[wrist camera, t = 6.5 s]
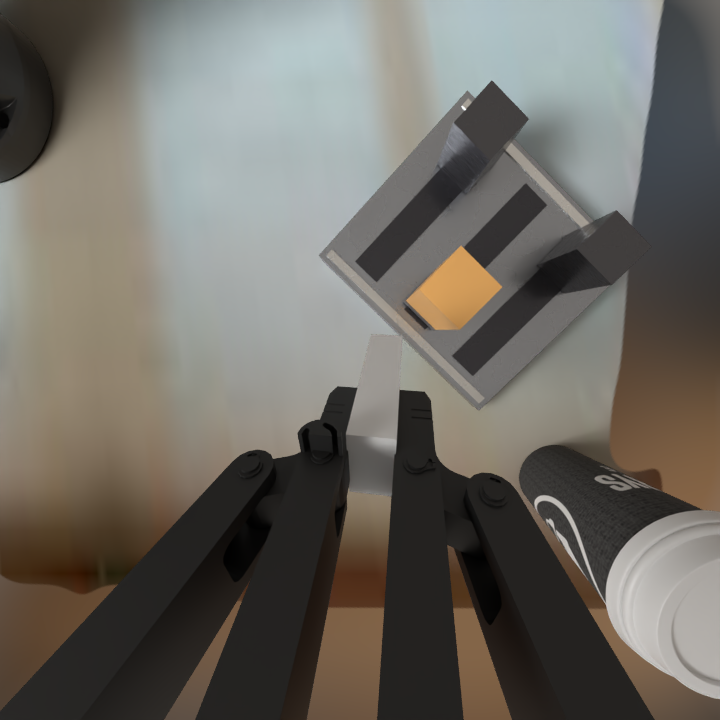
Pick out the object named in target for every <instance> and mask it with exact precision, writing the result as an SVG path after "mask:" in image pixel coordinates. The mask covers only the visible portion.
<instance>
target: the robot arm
mask: <svg viewBox="0 0 720 720" xmlns="http://www.w3.org/2000/svg"><path fill="white" fill-rule="evenodd" d="M52 112H53V101H52V91H51V85H50V81H49V77H48V74H47V71H46V68H45V66H44V64H43V61H42V59H41V57H40V56H39V54H38V52H37V51H36V49H35V47H34V46H33V45H32V43H31V42H30V41H29V40H28V38H27V37H26V36H25V35H24V34H23V33H22V32H21V31H20V30H19V29H18V28H16V27H15V26H14V25H13V24H12V23H11V22H9V21H8V20H7V19H6V18H5V17H4V16H2V15H1V14H0V182H2V181H5V180H8V179H10V178H12V177H14V176H16V175H18V174H19V173H21V172H22V171H23V170H25V169H26V168H27V167H28V166H29V165H30V164H31V163H32V162H33V161H34V160H35V158H36V157H37V156H38V154H39V153H40V151H41V150H42V148H43V146H44V144H45V142H46V139H47V137H48V133H49V130H50V126H51V121H52ZM401 353H402V336H398V335H377V334H371V337H370V341H369V345H368V349H367V353H366V357H365V360H364V364H363V368H362V372H361V376H360V380H359V384H358V388H352V387H337V388H335V389H334V390H333V391H332V392H331V393H330V395H329V397H328V400H327V403H326V405H325V408H324V412H323V413H322V416H321V419H320V420H315V421H312V422H309V423H307V424H306V425H304V426H303V427H302V428H301V429H300V430H299V432H298V439H299V444H300V449H301V452H300V453H298V454H295V455H292V456H288V457H282V458H276V459H273V458H272V456H271V454H269V453H268V452H266V451H262V450H253V451H248V452H246V453H244V454H242V455H240V456H239V457H237V458H236V459H235V460H234V461H233V462H232V463H231V464H230V465H229V466H228V467H227V468H226V469H225V470H224V471H223V472H222V474H221V475H220V476H219V477H218V478H217V479H216V480H215V481H214V482H213V483H212V484H211V485H210V486H209V487H208V489H207V490H206V491H205V492H204V493H203V494H202V495H201V496H200V497H199V498H198V499H197V500H196V501H195V503H194V504H193V505H192V506H191V507H190V508H189V509H188V510H187V511H186V512H185V513H184V514H183V515H182V516H181V518H180V519H179V520H178V521H177V522H176V523H175V524H174V525H173V526H172V527H171V528H170V529H169V530H168V532H167V533H166V534H165V535H164V536H163V537H162V538H161V539H160V540H159V541H158V542H157V543H156V544H155V545H154V547H153V548H152V549H151V550H150V551H149V552H148V553H147V554H146V555H145V556H144V557H143V558H142V559H141V561H140V562H139V563H138V564H137V565H136V566H135V567H134V568H133V569H132V570H131V571H130V572H129V573H128V574H127V576H126V577H125V578H124V579H123V580H122V581H121V582H120V583H119V584H118V585H117V586H116V587H115V588H114V590H113V591H112V592H111V593H110V594H109V595H108V596H107V597H106V598H105V599H104V600H103V601H102V602H101V603H100V605H99V606H98V607H97V608H96V609H95V610H94V611H93V612H92V613H91V614H90V615H89V616H88V618H87V619H86V620H85V621H84V622H83V623H82V624H81V625H80V626H79V627H78V628H77V629H76V630H75V631H74V632H73V634H72V635H71V636H70V637H69V638H68V639H67V640H66V641H65V642H64V643H63V644H62V645H61V646H60V648H59V649H58V650H57V651H56V652H55V653H54V654H53V655H52V656H51V657H50V658H49V659H48V660H47V662H46V663H45V664H44V665H43V666H42V667H41V668H40V669H39V670H38V671H37V672H36V673H35V674H34V675H33V677H32V678H31V679H30V680H29V681H28V682H27V683H26V684H25V685H24V686H23V687H22V688H21V690H20V691H19V692H18V693H17V694H16V695H15V696H14V697H13V698H12V699H11V700H10V701H9V702H8V703H7V705H5V707H4V708H3V709H2V710H1V711H0V720H164V719H165V717H166V715H167V714H168V712H169V711H170V709H171V707H172V706H173V704H174V703H175V701H176V699H177V698H178V696H179V694H180V693H181V691H182V690H183V688H184V686H185V685H186V683H187V681H188V680H189V678H190V676H191V675H192V673H193V672H194V670H195V668H196V667H197V665H198V664H199V662H200V660H201V659H202V657H203V656H204V654H205V652H206V651H207V649H208V647H209V646H210V644H211V643H212V641H213V639H214V638H215V636H216V634H217V633H218V631H219V629H220V628H221V626H222V625H223V623H224V621H225V620H226V618H227V617H228V615H229V613H230V612H231V610H232V608H233V607H234V605H235V604H236V602H237V600H238V599H239V597H240V596H241V594H242V592H243V591H244V589H245V587H246V586H247V584H248V583H249V581H250V583H249V585H248V588H247V590H246V593H245V595H244V598H243V600H242V603H241V605H240V608H239V611H238V613H237V616H236V618H235V621H234V623H233V626H232V628H231V631H230V634H229V636H228V638H227V641H226V644H225V646H224V648H223V651H222V654H221V656H220V659H219V661H218V664H217V666H216V669H215V671H214V674H213V676H212V679H211V682H210V684H209V686H208V689H207V691H206V694H205V696H204V699H203V702H202V704H201V707H200V709H199V712H198V714H197V717H196V720H307V715H308V709H309V703H310V699H311V693H312V688H313V683H314V678H315V672H316V667H317V662H318V657H319V651H320V647H321V641H322V636H323V631H324V625H325V620H326V615H327V610H328V605H329V599H330V594H331V589H332V584H333V578H334V573H335V568H336V563H337V557H338V552H339V547H340V542H341V537H342V531H343V526H344V521H345V516H346V510H347V492H348V488H349V490H350V491H351V492H359V493H368V494H376V495H384V496H392V499H391V514H390V530H389V545H388V561H387V576H386V592H385V607H384V623H383V638H382V655H381V669H380V685H379V701H378V716H377V720H464V719H463V710H462V698H461V688H460V677H459V667H458V656H457V645H456V634H455V625H454V613H453V603H452V592H451V581H450V571H449V560H448V550H447V545H449V546H451V547H453V548H454V550H455V553H456V556H457V559H458V561H459V564H460V567H461V570H462V573H463V576H464V579H465V582H466V585H467V588H468V591H469V594H470V597H471V600H472V603H473V606H474V609H475V612H476V615H477V618H478V620H479V623H480V626H481V629H482V632H483V635H484V638H485V641H486V644H487V647H488V650H489V653H490V656H491V659H492V662H493V664H494V668H495V671H496V673H497V677H498V679H499V682H500V685H501V688H502V691H503V694H504V697H505V700H506V703H507V706H508V709H509V712H510V715H511V718H512V720H654V718H653V716H652V715H651V713H650V711H649V710H648V708H647V706H646V705H645V703H644V702H643V700H642V698H641V697H640V695H639V693H638V692H637V690H636V688H635V686H634V685H633V683H632V682H631V680H630V678H629V677H628V675H627V674H626V672H625V670H624V668H623V667H622V665H621V664H620V662H619V660H618V658H617V657H616V655H615V654H614V652H613V650H612V648H611V647H610V645H609V643H608V642H607V640H606V638H605V637H604V635H603V633H602V632H601V630H600V629H599V627H598V625H597V623H596V622H595V620H594V618H593V617H592V615H591V613H590V612H589V610H588V608H587V607H586V605H585V603H584V602H583V600H582V598H581V597H580V595H579V593H578V592H577V590H576V588H575V587H574V585H573V583H572V582H571V580H570V578H569V577H568V575H567V574H566V572H565V570H564V569H563V567H562V565H561V564H560V562H559V560H558V559H557V557H556V555H555V554H554V552H553V550H552V549H551V547H550V545H549V544H548V542H547V540H546V539H545V537H544V535H543V534H542V532H541V530H540V529H539V527H538V525H537V524H536V522H535V520H534V519H533V517H532V515H531V514H530V512H529V510H528V509H527V507H526V505H525V504H524V502H523V500H522V499H521V497H520V495H519V494H518V492H517V491H516V490H515V488H514V487H513V486H512V485H511V484H510V483H509V482H508V481H506V480H505V479H503V478H502V477H500V476H497V475H494V474H492V473H479V474H476V475H474V476H472V477H471V478H467V477H465V476H462V475H460V474H457V473H455V472H453V471H451V470H449V469H448V468H446V467H445V466H444V465H443V464H442V463H441V462H440V461H439V459H438V457H437V456H436V452H435V443H434V432H433V420H432V409H431V400H430V399H429V397H428V396H427V394H426V393H425V392H420V391H406V390H400V372H401ZM250 579H251V580H250Z"/></svg>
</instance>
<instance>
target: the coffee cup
mask: <svg viewBox="0 0 720 720" xmlns="http://www.w3.org/2000/svg"><path fill="white" fill-rule="evenodd" d="M519 481H520V486H521V489H522V491H523V493H524V494H525V496H526V497H527V499H528V500H529V501H530V503H531V504H532V505H533V507H534V508H535V509H536V511H537V512H538V513H539V515H540V516H541V517H542V519H543V520H544V521H545V523H546V524H547V525H548V527H549V528H550V529H551V531H552V532H553V533H554V535H555V536H556V537H557V539H558V540H559V541H560V543H561V544H562V545H563V547H564V548H565V549H566V551H567V552H568V553H569V555H570V556H571V558H572V559H573V560H574V562H575V563H576V564H577V566H578V567H579V568H580V570H581V571H582V572H583V574H584V575H585V576H586V578H587V579H588V580H589V582H590V583H591V585H592V586H593V587H594V589H595V590H596V591H597V593H598V594H599V595H600V597H601V598H602V600H603V601H604V602H605V604H606V605H607V611H608V614H609V617H610V620H611V622H612V624H613V626H614V628H615V630H616V632H617V633H618V634H619V636H620V637H621V639H622V640H623V641H624V642H625V643H626V644H627V645H628V646H629V647H630V648H632V649H633V650H634V651H635V652H636V653H638V654H639V655H640V656H641V657H642V658H643V659H645V660H646V661H648V662H649V663H651V664H652V665H653V666H655V667H656V668H658V669H659V670H661V671H663V672H665V673H667V674H669V675H671V676H673V677H675V678H676V679H677V680H679V681H680V682H681V683H683V684H684V685H685V686H687V687H688V688H690V689H692V690H694V691H696V692H698V693H700V694H703V695H706V696H709V697H712V698H717V699H720V512H718V511H707V510H701V509H700V508H697V507H695V506H693V505H691V504H689V503H686V502H684V501H682V500H680V499H677V498H675V497H673V496H671V495H669V494H667V493H664V492H662V491H660V490H658V489H656V488H653V487H651V486H649V485H647V484H645V483H643V482H640V481H638V480H636V479H634V478H632V477H630V476H627V475H625V474H623V473H621V472H619V471H617V470H614V469H612V468H610V467H608V466H606V465H604V464H601V463H599V462H597V461H595V460H593V459H591V458H588V457H586V456H584V455H582V454H580V453H578V452H575V451H573V450H571V449H569V448H566V447H563V446H557V445H551V446H545V447H542V448H540V449H537V450H536V451H534V452H533V453H531V454H530V455H529V456H528V457H527V458H526V460H525V461H524V463H523V465H522V467H521V470H520V475H519Z"/></svg>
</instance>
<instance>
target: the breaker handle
mask: <svg viewBox="0 0 720 720" xmlns="http://www.w3.org/2000/svg"><path fill="white" fill-rule="evenodd" d="M501 288H502V286H501V285H500V284H499V283H498V282H497V281H496V280H495V279H494V278H493V277H492V276H491V275H490V274H489V273H488V272H487V271H486V270H485V269H484V268H483V267H482V266H481V265H480V264H479V263H478V262H477V261H476V260H475V259H474V258H473V257H472V256H471V255H470V254H469V253H468V252H467V251H466V250H465V249H464V248H463V247H462V246H460V247H459V248H458V249H457V250H456V251H455V252H454V253H452V254H451V255H450V256H449V257H448V258H447V259H446V260H445V261H444V262H443V263H442V264H441V265H440V266H439V267H438V268H437V269H435V270H434V271H433V272H432V273H431V274H430V275H429V276H428V277H427V278H426V279H425V280H424V281H423V282H422V283H421V284H420V285H419V286H418V287H417V288H416V289H415V290H414V291H413V292H412V293H411V294H410V296H409V297H408V298H407V299H406V300H405V301H404V303H405V304H406V305H407V306H408V307H409V308H410V309H411V310H412V311H413V312H414V313H415V314H416V315H417V316H418V317H419V318H420V319H421V320H422V321H423V322H424V323H425V324H426V325H427V326H428V327H429V328H430V329H431V330H432V331H436V330H460V329H461V328H462V327H463V326H464V325H465V324H466V323H467V322H468V321H469V320H470V319H471V318H472V317H473V316H474V315H475V314H476V313H477V312H478V311H479V310H480V309H481V308H482V307H483V306H484V305H485V304H486V303H487V302H488V301H489V300H490V299H491V298H492V297H493V296H494V295H495V294H496V293H497V292H498V291H499V290H500V289H501Z"/></svg>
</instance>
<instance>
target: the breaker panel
mask: <svg viewBox="0 0 720 720" xmlns="http://www.w3.org/2000/svg"><path fill="white" fill-rule="evenodd" d="M528 120H529V119H528V117H527V116H526V115H525V114H524V113H523V112H522V111H521V110H520V109H519V108H518V107H517V106H516V105H515V104H514V103H513V102H512V101H511V100H510V99H509V98H508V97H507V96H506V95H505V94H504V93H503V91H502V90H501V89H500V88H499V87H498V86H497V85H496V84H495V83H494V82H493V81H491V82H490V83H489V84H488V85H487V86H486V87H485V89H484V90H483V91H482V92H481V93H480V94H479V95H478V96H477V97H476V98H474V97H473V96H472V95H471V94H470V93H469V92H468V91H467V92H466V93H465V94H464V95H463V96H462V97H461V98H460V99H459V101H458V102H457V103H456V104H455V105H454V106H453V107H452V108H451V109H450V111H449V112H448V113H447V114H446V115H445V116H444V117H443V118H442V119H441V121H440V122H439V123H438V124H437V125H436V126H435V127H434V128H433V129H432V131H431V132H430V133H429V134H428V135H427V136H426V137H425V138H424V139H423V140H422V142H421V143H420V144H419V145H418V146H417V147H416V148H415V149H414V150H413V152H412V153H411V154H410V155H409V156H408V157H407V158H406V159H405V160H404V162H403V163H402V164H401V165H400V166H399V167H398V168H397V169H396V170H395V172H394V173H393V174H392V175H391V176H390V177H389V178H388V179H387V180H386V182H385V183H384V184H383V185H382V186H381V187H380V188H379V189H378V190H377V192H376V193H375V194H374V195H373V196H372V197H371V198H370V199H369V200H368V202H367V203H366V204H365V205H364V206H363V207H362V208H361V209H360V210H359V211H358V213H357V214H356V215H355V216H354V217H353V218H352V219H351V220H350V221H349V223H348V224H347V225H346V226H345V227H344V228H343V229H342V230H341V231H340V233H339V234H338V235H337V236H336V237H335V238H334V239H333V240H332V241H331V243H330V244H329V245H328V246H327V247H326V248H325V249H324V250H323V251H322V253H321V254H320V255H319V256H320V258H321V259H322V261H323V262H324V263H326V264H327V265H328V266H329V267H330V268H331V269H332V270H333V271H334V272H335V273H336V274H337V275H338V276H339V277H340V278H341V279H342V280H343V281H344V282H345V283H346V284H347V285H348V286H349V287H350V288H351V289H352V290H353V291H354V292H355V293H356V294H357V295H359V296H360V297H361V298H362V299H363V300H364V301H365V302H366V303H367V304H368V305H369V306H370V307H371V308H372V309H373V310H374V311H375V312H376V313H377V314H378V315H379V316H380V317H381V318H382V319H383V320H384V321H385V322H386V323H387V324H388V325H389V326H391V327H392V328H393V329H394V330H395V331H396V332H397V333H398V334H399V335H400V336H402V338H403V339H404V340H405V341H406V342H407V343H408V344H409V345H410V346H411V347H412V348H413V349H414V350H415V351H416V352H417V353H418V354H419V355H420V356H421V357H422V358H424V359H425V360H426V361H427V362H428V363H429V364H430V365H431V366H432V367H433V368H434V369H435V370H436V371H437V372H438V373H439V374H440V375H441V376H442V377H443V378H444V379H445V380H446V381H447V382H448V383H449V384H450V385H451V386H452V387H453V388H454V389H455V390H457V391H458V392H459V393H460V394H461V395H462V396H463V397H464V398H465V399H466V400H467V401H468V402H469V403H470V404H471V405H472V406H473V407H475V408H476V409H477V410H480V409H481V408H482V407H483V406H484V405H485V404H486V403H487V402H488V401H489V400H490V399H491V398H493V397H494V396H495V395H496V394H497V393H498V392H499V391H500V390H501V389H502V388H503V387H504V386H505V385H506V384H507V383H508V382H509V381H510V380H511V379H512V378H513V377H514V376H516V375H517V374H518V373H519V372H520V371H521V370H522V369H523V368H524V367H525V366H526V365H527V364H528V363H529V362H530V361H531V360H532V359H533V358H534V357H535V356H536V355H537V354H539V353H540V352H541V351H542V350H543V349H544V348H545V347H546V346H547V345H548V344H549V343H550V342H551V341H552V340H553V339H554V338H555V337H556V336H557V335H558V334H559V333H561V332H562V331H563V330H564V329H565V328H566V327H567V326H568V325H569V324H570V323H571V322H572V321H573V320H574V319H575V318H576V317H577V316H578V315H579V314H580V313H581V312H582V311H584V310H585V309H586V308H587V307H588V306H589V305H590V304H591V303H592V302H593V301H594V300H595V299H596V298H597V297H598V296H599V295H600V294H601V293H602V292H603V291H604V290H605V289H607V288H608V287H609V286H610V285H612V284H613V283H614V282H615V281H616V280H617V279H619V278H620V277H621V276H622V275H623V274H624V273H625V272H626V271H627V270H628V269H629V268H630V267H631V266H632V265H633V264H634V263H635V262H636V261H637V260H638V259H639V258H640V257H641V256H642V255H644V254H645V253H646V252H647V251H648V250H649V249H650V248H651V245H649V243H648V242H647V241H646V240H645V239H644V238H643V237H642V236H641V235H640V234H639V233H638V232H637V231H636V230H635V229H634V228H633V227H632V226H631V225H630V224H629V222H628V221H627V220H626V219H625V218H624V217H623V216H622V215H621V214H620V213H619V212H618V211H617V210H616V211H614V212H612V213H610V214H608V215H606V216H604V217H602V218H599V219H597V220H595V221H593V220H592V219H591V218H590V217H589V216H588V215H587V214H586V212H585V211H584V210H583V209H582V208H581V207H580V206H579V205H578V204H577V203H576V202H575V201H574V200H573V199H572V198H571V197H570V196H569V195H568V194H567V193H566V192H565V191H564V190H563V189H562V188H561V187H560V186H559V185H558V184H557V183H556V182H555V180H554V179H553V178H552V177H551V176H550V175H549V174H548V173H547V172H546V171H545V170H544V169H543V168H542V167H541V166H540V165H539V164H538V163H537V162H536V161H535V160H534V159H533V158H532V157H531V156H530V155H529V154H528V153H527V152H526V151H525V149H524V148H523V147H522V146H521V145H520V144H519V143H518V142H517V141H516V140H515V139H514V138H515V137H516V136H517V134H518V133H519V132H520V130H521V129H522V128H523V126H524V125H525V124H526V122H527V121H528ZM460 246H462V247H463V248H464V249H465V250H466V251H467V252H468V253H469V254H470V255H471V256H472V257H473V258H474V259H475V260H476V261H477V262H478V263H479V264H480V265H481V266H482V267H483V268H484V269H485V270H486V271H487V272H488V273H489V274H490V275H491V276H492V277H493V278H494V279H495V280H496V281H497V282H498V283H499V284H500V285H501V286H502V288H501V289H500V290H499V291H498V292H497V293H496V294H495V295H494V296H493V297H492V298H491V299H490V300H489V301H488V302H487V303H486V304H485V305H484V306H483V307H482V308H481V309H480V310H479V311H478V312H477V313H476V314H475V315H474V316H473V317H472V318H471V319H470V320H469V321H468V322H467V323H466V324H465V325H464V326H463V327H462V328H461V329H460V330H436V331H432V330H431V329H430V328H429V327H428V326H427V325H426V324H425V323H424V322H423V321H422V320H421V319H420V318H419V317H418V316H417V315H416V314H415V313H414V312H413V311H412V310H411V309H410V308H409V307H408V306H407V305H406V304H405V303H404V301H405V300H406V299H407V298H408V297H409V296H410V294H411V293H412V292H413V291H414V290H415V289H416V288H417V287H418V286H419V285H420V284H421V283H422V282H423V281H424V280H425V279H426V278H427V277H428V276H429V275H430V274H431V273H432V272H433V271H434V270H435V269H437V268H438V267H439V266H440V265H441V264H442V263H443V262H444V261H445V260H446V259H447V258H448V257H449V256H450V255H451V254H452V253H454V252H455V251H456V250H457V249H458V248H459V247H460Z"/></svg>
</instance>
